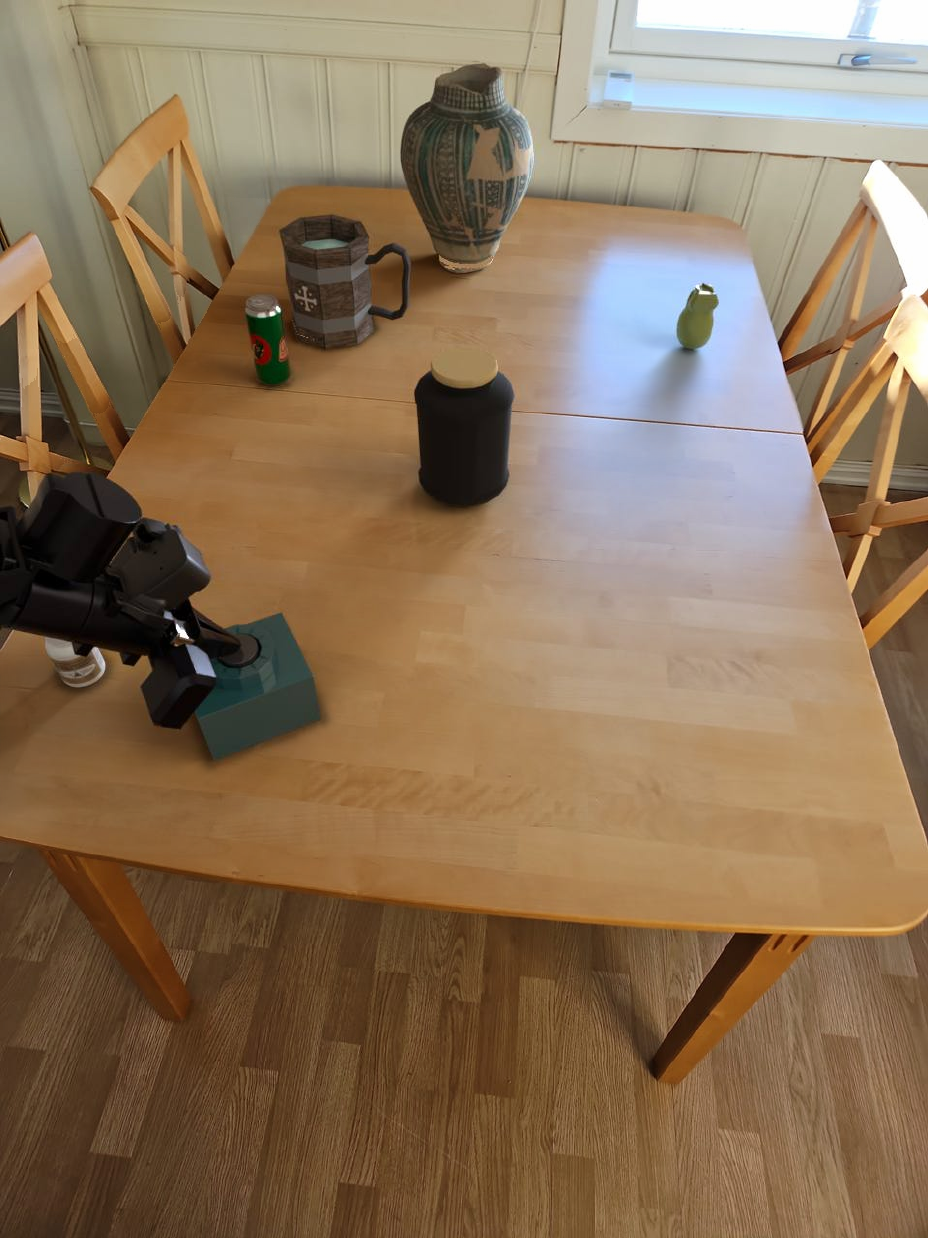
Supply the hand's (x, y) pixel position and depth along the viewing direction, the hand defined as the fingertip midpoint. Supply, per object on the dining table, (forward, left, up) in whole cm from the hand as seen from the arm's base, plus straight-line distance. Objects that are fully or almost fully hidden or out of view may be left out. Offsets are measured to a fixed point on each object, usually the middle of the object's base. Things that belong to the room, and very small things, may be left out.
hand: (237, 646), depth 76 cm
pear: (+92, -2, -10) cm, 92 cm away
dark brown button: (0, 0, -2) cm, 2 cm away
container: (+41, +5, -10) cm, 42 cm away
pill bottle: (-8, +17, -10) cm, 21 cm away
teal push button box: (0, 0, -10) cm, 10 cm away
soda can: (+43, +42, -10) cm, 61 cm away
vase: (+92, +44, -10) cm, 102 cm away
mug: (+61, +43, -10) cm, 75 cm away
